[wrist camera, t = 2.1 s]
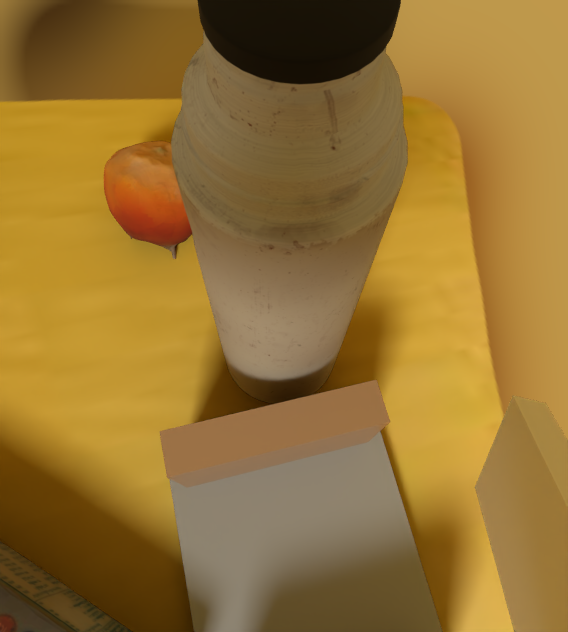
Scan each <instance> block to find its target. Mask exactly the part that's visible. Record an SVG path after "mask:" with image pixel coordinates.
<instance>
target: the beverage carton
mask: <svg viewBox="0 0 568 632" xmlns="http://www.w3.org/2000/svg"><path fill="white" fill-rule="evenodd" d="M0 632H132V631H131V630H129V629H128V628H126V627H125V626H124V625H122V624H121V623H119V622H118V621H116V620H115V619H113V618H112V617H110V616H109V615H107V614H106V613H104V612H103V611H101V610H100V609H98V608H97V607H96V606H94V605H93V604H91V603H90V602H88V601H87V600H85V599H84V598H82V597H81V596H79V595H78V594H77V593H75V592H74V591H72V590H71V589H70V588H68V587H67V586H66V585H64V584H63V583H61V582H60V581H58V580H57V579H55V578H54V577H53V576H51V575H50V574H48V573H47V572H45V571H44V570H42V569H41V568H39V567H38V566H36V565H35V564H33V563H32V562H31V561H29V560H28V559H26V558H25V557H23V556H22V555H20V554H19V553H17V552H16V551H14V550H13V549H11V548H10V547H8V546H7V545H5V544H4V543H2V542H1V541H0Z"/></svg>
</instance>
